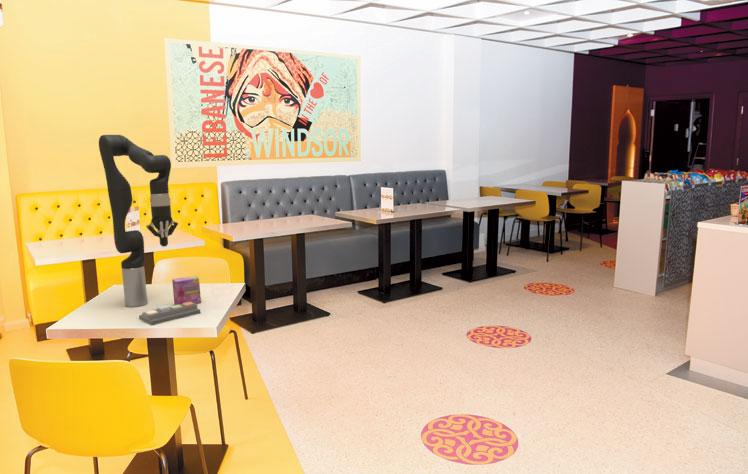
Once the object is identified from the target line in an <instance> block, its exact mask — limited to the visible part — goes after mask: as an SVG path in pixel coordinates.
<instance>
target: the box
mask: <svg viewBox="0 0 748 474" xmlns="http://www.w3.org/2000/svg"><path fill="white" fill-rule="evenodd" d="M171 281H172V291H173V292H172V293H173V294H172V295H173V304H174V305H179V304H183V303H187V302H192V303H195V304H197V305H198V304H200V303H202V301H201V300H202V299H201V286H200V277H198V276H196V275H190V276H185V277H179V278H178V277H177V278H173V279H171Z"/></svg>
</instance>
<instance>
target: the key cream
mask: <svg viewBox="0 0 748 474" xmlns="http://www.w3.org/2000/svg"><path fill="white" fill-rule="evenodd" d="M155 310H156V309H152V310H148V311H145V314H147V315H153V314H157V313H158V312H157V311H155Z"/></svg>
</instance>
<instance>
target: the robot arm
mask: <svg viewBox="0 0 748 474" xmlns="http://www.w3.org/2000/svg"><path fill="white" fill-rule="evenodd" d="M98 149H99V152H100V153H99V155H100V157H101V161H102V166H103V169H104V174H105V180H106V186H107V194H108V200H109V204H110V210H111V215H112V225H113V227H112V228H113V242H114V246H115V249H116V251H117V252H118V253H120V254H126V253H127V254H128V253H130V254H129V256H127V257H126V258H124V259H123V260H122V261H121V263H120V265H121V276H122V284H123V285H122V286H123V296H124V306H125V307H128V308H134V307H136V308H137V307H141V306H144V305H147V304H148V292H147V284H146V283H147V282H146V274H145V240H144V236H143V234H142V231H140V230H127V231H126V219H127V216H128V214H129V211H130V210H131V207H132V204H133V193H132V188H131V185H130V182H129V181H128V179H127V178H126V177H125V176H124V175H123V174H122V172H120V170H119V168H118V167H117V165H116V161H115V158H114V157H122V156H123V157H124V156H126V157H128V158H129V160H130V161H131V162H132V163H133V164H135V165H137V166H140V167H141V168H142V169H143V170H144V171H145V172H146V173H149V174H157V173H158V175H157V177H156V178H153V179H150V181H149V191H150V198H149V200H150V212H151V213H150V214H151V221H150V223H149V224H147V225H146V229H148V231H150V233H151V234H152V235H154V237H157V238H159V245H160V246H161V247H162V248H164V247H167V246H168V245H169V236H172V235H173V233H174V232H175V230H176V228H177V227H178V225H179V223H178V222H176V221H174V219H173V217H172V210H171V206H172V205H171V199H170V191H169V180H170V174H171V169H172V161H171V159H170V158H169V156H168V155H165V154H159V155H157V154H153V153H152V152H151V151H149V150H147V149H145V148H142V147H140V146H138V144H135V143H134V142H133V141H132V140H130V139H129V138H128V137H126V136H124V135H122V134H103V135H100V136H99V138H98ZM155 228H156V229H155Z"/></svg>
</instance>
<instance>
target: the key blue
mask: <svg viewBox="0 0 748 474" xmlns="http://www.w3.org/2000/svg"><path fill="white" fill-rule="evenodd" d="M170 306H171V305H167V304H165V305H164V304H163V305H159V306H157V307H156V308H157V309H158V311H159V312H166V311H170V310H171V309H170ZM157 309H156V310H157Z"/></svg>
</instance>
